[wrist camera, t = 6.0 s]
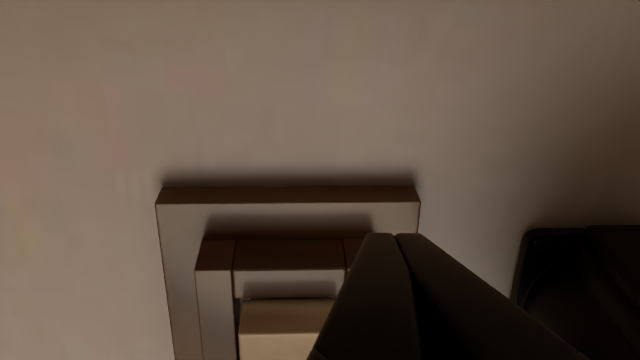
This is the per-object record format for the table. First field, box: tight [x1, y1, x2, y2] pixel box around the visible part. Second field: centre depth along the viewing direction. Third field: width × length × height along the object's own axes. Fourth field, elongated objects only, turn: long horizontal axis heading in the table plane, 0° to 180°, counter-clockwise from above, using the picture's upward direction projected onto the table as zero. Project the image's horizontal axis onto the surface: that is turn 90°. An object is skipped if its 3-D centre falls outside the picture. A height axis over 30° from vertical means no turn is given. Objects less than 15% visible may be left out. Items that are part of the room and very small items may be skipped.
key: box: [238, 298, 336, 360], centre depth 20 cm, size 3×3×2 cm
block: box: [155, 186, 421, 360], centre depth 21 cm, size 9×9×3 cm
